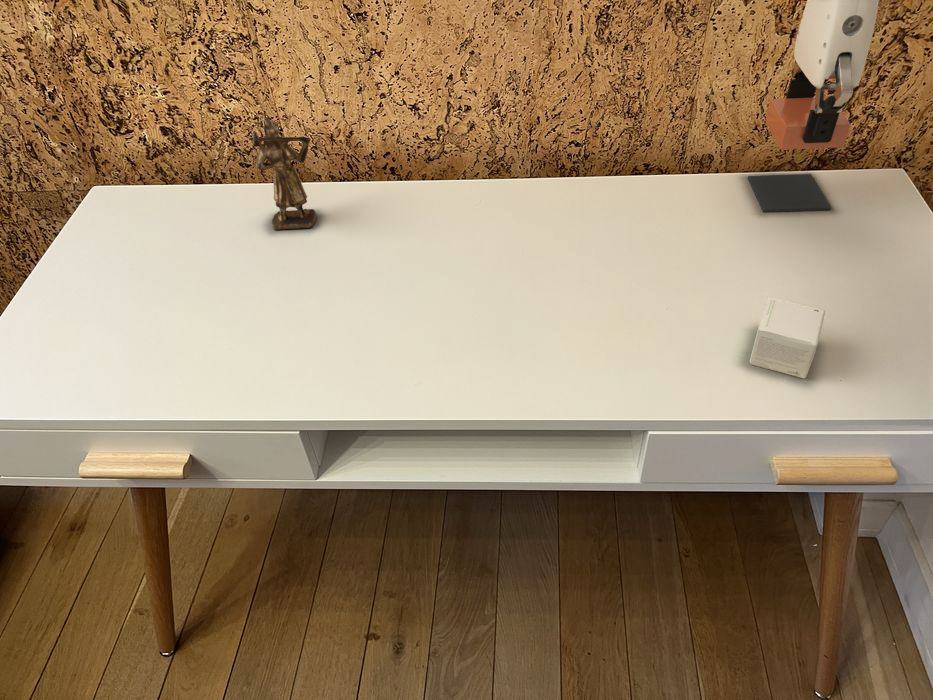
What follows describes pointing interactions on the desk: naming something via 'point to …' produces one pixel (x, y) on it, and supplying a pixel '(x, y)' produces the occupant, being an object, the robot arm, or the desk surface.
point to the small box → (787, 337)
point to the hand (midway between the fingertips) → (806, 124)
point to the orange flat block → (800, 124)
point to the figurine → (284, 176)
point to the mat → (788, 193)
